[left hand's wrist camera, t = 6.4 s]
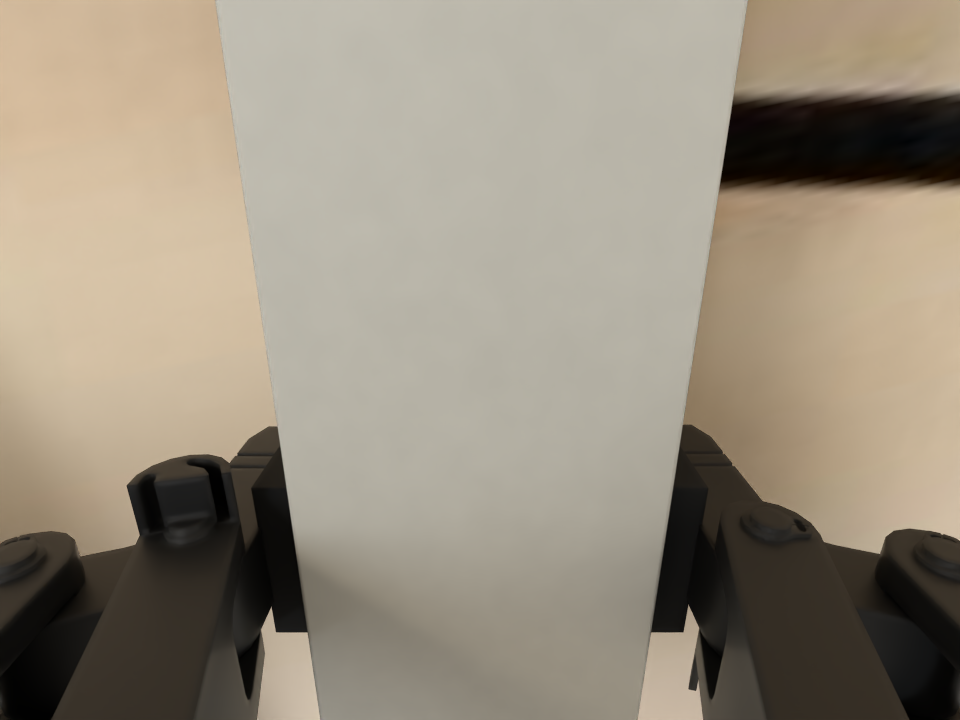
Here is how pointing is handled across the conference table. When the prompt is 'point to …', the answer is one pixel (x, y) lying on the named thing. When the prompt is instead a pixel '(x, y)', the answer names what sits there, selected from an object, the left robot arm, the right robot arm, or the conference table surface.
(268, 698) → the conference table surface
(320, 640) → the bar
